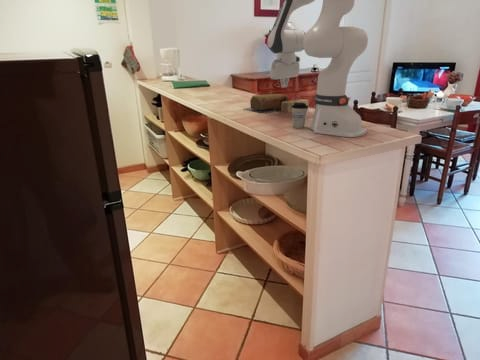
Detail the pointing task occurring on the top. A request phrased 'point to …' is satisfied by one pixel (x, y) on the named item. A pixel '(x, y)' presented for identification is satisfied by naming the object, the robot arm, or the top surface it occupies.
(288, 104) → the oak post
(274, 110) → the grey rubber mat
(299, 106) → the coffee cup
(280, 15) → the robot arm
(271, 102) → the block
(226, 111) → the top surface
